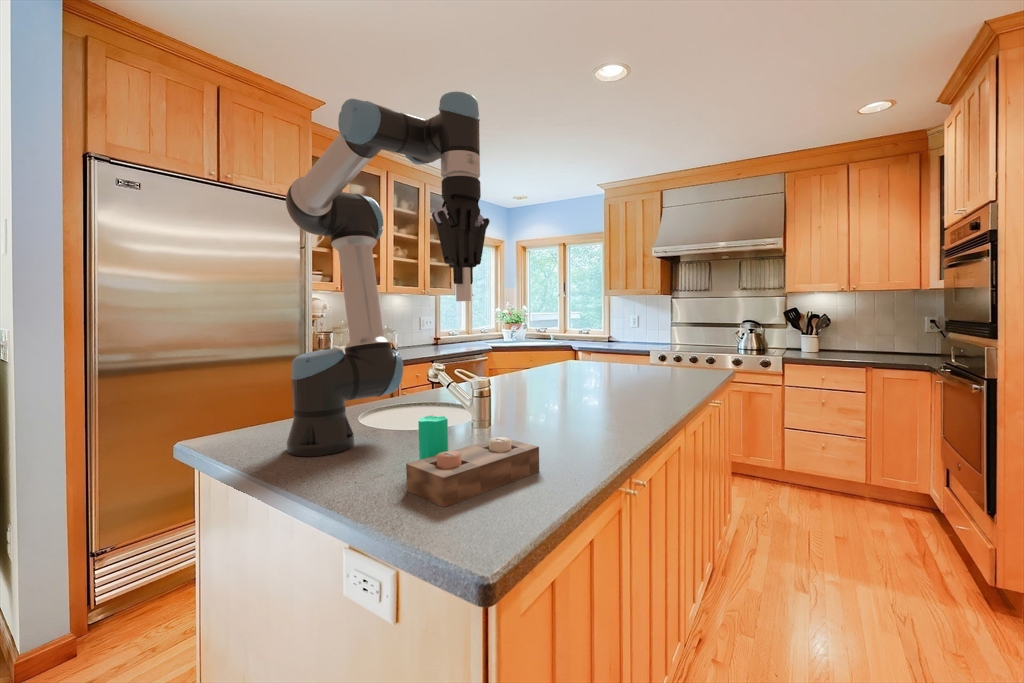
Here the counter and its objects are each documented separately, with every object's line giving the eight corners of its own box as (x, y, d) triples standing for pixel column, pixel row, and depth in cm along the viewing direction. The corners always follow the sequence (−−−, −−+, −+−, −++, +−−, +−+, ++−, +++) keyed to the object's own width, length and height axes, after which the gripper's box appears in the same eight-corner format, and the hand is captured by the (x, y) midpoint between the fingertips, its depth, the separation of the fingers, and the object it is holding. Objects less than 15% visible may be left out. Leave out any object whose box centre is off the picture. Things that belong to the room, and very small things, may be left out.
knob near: (432, 488, 88) (431, 454, 88) (451, 482, 91) (450, 449, 91) (447, 494, 85) (446, 459, 85) (466, 487, 88) (466, 454, 88)
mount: (407, 490, 88) (406, 463, 88) (501, 459, 105) (500, 437, 105) (444, 507, 80) (443, 477, 80) (539, 471, 98) (539, 446, 97)
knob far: (485, 470, 97) (484, 440, 97) (500, 465, 100) (500, 435, 100) (500, 475, 94) (500, 444, 94) (516, 470, 97) (515, 439, 97)
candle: (443, 473, 97) (441, 414, 96) (415, 472, 98) (413, 413, 97) (452, 464, 103) (451, 408, 102) (426, 463, 104) (424, 407, 103)
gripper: (446, 168, 87) (449, 300, 88) (498, 181, 96) (500, 300, 97) (421, 176, 92) (425, 301, 93) (473, 188, 101) (475, 301, 103)
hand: (463, 301), depth 95 cm, fingers closed
